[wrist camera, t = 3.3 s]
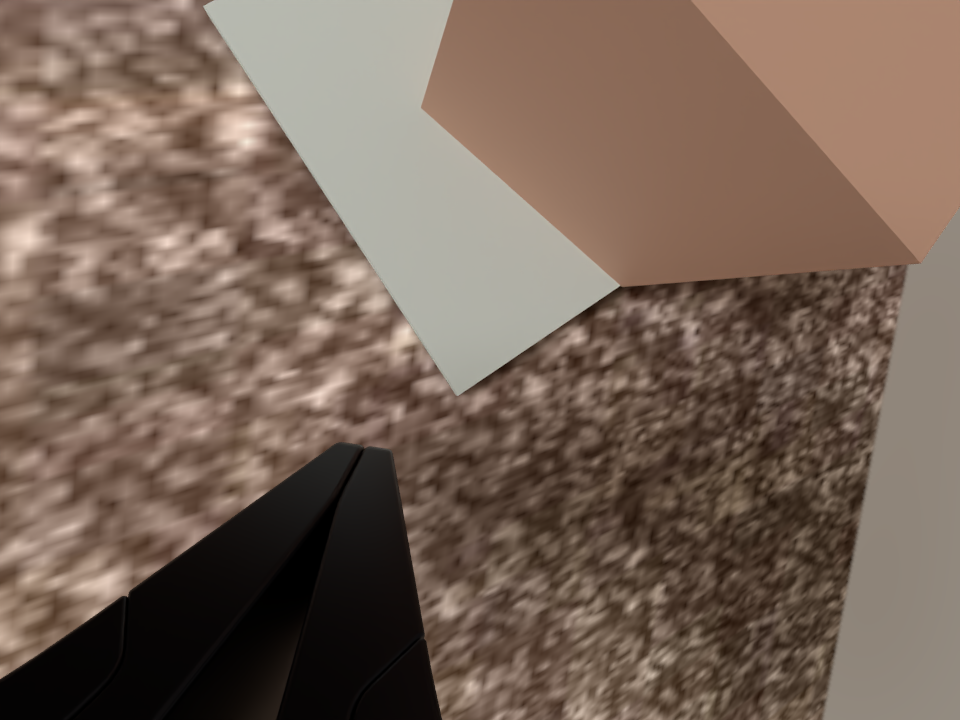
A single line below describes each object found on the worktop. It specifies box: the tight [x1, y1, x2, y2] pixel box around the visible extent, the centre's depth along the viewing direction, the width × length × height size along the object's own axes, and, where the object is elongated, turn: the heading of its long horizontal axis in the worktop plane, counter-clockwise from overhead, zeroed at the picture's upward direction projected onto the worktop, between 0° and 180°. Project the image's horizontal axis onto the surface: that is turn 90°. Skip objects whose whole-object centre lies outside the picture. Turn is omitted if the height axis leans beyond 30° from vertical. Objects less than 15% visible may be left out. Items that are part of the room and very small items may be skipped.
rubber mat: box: [203, 0, 620, 396], centre depth 19 cm, size 15×22×1 cm
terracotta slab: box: [421, 0, 960, 287], centre depth 14 cm, size 4×10×11 cm, turn 53°
